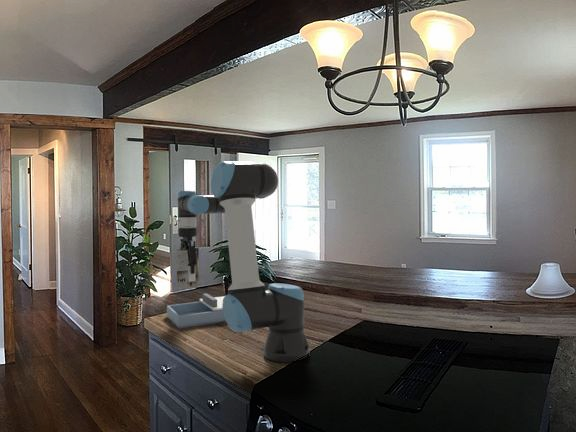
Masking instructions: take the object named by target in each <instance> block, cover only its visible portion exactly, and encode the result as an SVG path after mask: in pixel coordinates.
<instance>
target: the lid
mask: <svg viewBox="0 0 576 432" xmlns="http://www.w3.org/2000/svg"><path fill="white" fill-rule="evenodd" d="M225 296H226V295H225ZM225 296H215V297H213V296H212V295H211V294H208V293H206V292H205V293H202V298H199V302H202V303H203V304H205V305H206V306H208V307H209V308H211V309H212V310H213V311H217V310H223V308H222V304H223V298H224V297H225Z"/></svg>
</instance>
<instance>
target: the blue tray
mask: <svg viewBox="0 0 576 432" xmlns="http://www.w3.org/2000/svg"><path fill="white" fill-rule="evenodd" d="M167 317H168V318H169V319H170V320H171V323H172V324H173V325H174V326H175V327H176V328H177V329H179V330H180V329H181V330H182V329H186V328H187V329H188V328H192V327H193V328H194V327H200V326H207V325H212V324H220V323H227V322H226V320H225V317H224V313H223V310H217V311H213V310H212V309H211V308H209V307H208V306H206V305H205V304H203V303H202V302H200V301H193V302H187V303H186V302H185V303H177V304H170V305H166V318H167ZM168 318H167V319H168ZM169 319H168V320H169ZM170 320H169V321H170Z"/></svg>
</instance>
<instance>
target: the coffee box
mask: <svg viewBox="0 0 576 432" xmlns="http://www.w3.org/2000/svg"><path fill="white" fill-rule="evenodd" d="M195 249H196V258H197V265H196V266H195V279H196V281H193V282H189V276H188V266H187V265H188V264H189V261H188V254H189V250H186V249H180V248H179V249H177V250H176V288H177V289H189V290H190V289H193V288H195V287H197V286H198V285H200V257H199V256H200V255H199V254H200V253H199V250H200V248H199V247H195Z"/></svg>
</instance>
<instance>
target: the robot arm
mask: <svg viewBox="0 0 576 432" xmlns="http://www.w3.org/2000/svg"><path fill="white" fill-rule="evenodd" d="M278 186H279V178H278V174H277V172H276V170H275V169H274V168H273V167H272V166H270V165H269V164H267V163H265V162H261V161H260V162H259V161H255V162H254V161H237V160H228V161H227V160H225V161H220V162H219V163H217V164H216V166H215V167H214V169H213V171H212V175H211V180H210V190H211V193H212V194H206V195H205V194H198V195H197V192H196V191H195V190H179V191H178V192H177V200H176V201H177V215H178V219H176V221H177V223H178V225H177V226H178V227H179V228H178V229H177V231H178V232H177V233H178V237H180V247H179V249H186V250H189V254H188V261H189V264H188V265H187V266H188V276H189V282H193V281H196V279H195V266H196V265H197V258H196V249H195V248H196V241H195V240H193V238H194V237H197V236H198V232H197V230H198V229H197V226H198V225H197V224H198V223H197V215H205V214H208V215H209V214H224V215H225V222H226V225H225V226H226V233H227V234H226V235H227V243H228V244H227V245H228V254H229V256H228V257H229V265H230V266H229V267H230V273H231V274H230V275H231V284H230V285H229V287H228V289H227V294H226V295H225V297H224V298H223V304H222V308H223V313H224V317H225V320H226V322H225V323H226V324H227V325H228V327H229V328H230V330H232V331H233V332H235V333H241V332H250V331H254V330H259V329H264V328H265V329H266V328H268V333H267V336H266V339H265V343H264V346H263V357H264V358H265V359H267V360H269V361H272V362H273V361H274V362H276V363H278V362H279V363H293V362H292V361H295V360H297V359H299V358H301V357H303V356H305V355H307V354H308V353H309V354H310V345H309V343H308V339H307V337H306V333H305V326H304V325H305V304H304V303H305V296H304V290H303V288H302V287H301V286H298V285H294V284H289V283H275V282H274V283H269V284H268V287H267V289H266V286H265V284H264V283H263V282H262V281H261V280H260V275H259V267H258V266H259V263H258V256H257V246H256V245H257V244H256V239H255V228H254V220H253V218H254V217H253V210H252V206H253V204H254V203H255V202H256V199H259V200H260V199H266V198H268V197H269V196H271V195H272V194H274V192H276V190H277V189H278Z"/></svg>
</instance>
